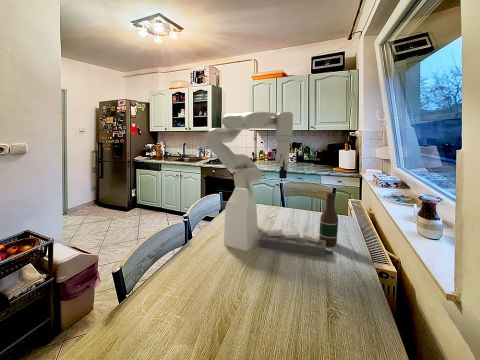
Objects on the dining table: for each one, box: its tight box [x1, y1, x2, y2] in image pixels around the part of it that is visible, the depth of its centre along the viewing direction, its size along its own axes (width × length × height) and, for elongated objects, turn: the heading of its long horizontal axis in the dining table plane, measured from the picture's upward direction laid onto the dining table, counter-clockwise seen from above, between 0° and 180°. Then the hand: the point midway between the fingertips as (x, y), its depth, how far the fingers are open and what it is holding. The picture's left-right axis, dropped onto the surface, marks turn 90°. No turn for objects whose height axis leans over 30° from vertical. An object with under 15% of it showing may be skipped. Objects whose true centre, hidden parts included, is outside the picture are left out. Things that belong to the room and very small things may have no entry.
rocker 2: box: [303, 232, 319, 243], centre depth 109 cm, size 6×3×2 cm, turn 72°
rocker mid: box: [284, 231, 301, 238], centre depth 112 cm, size 6×3×2 cm, turn 70°
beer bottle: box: [318, 192, 339, 248], centre depth 114 cm, size 8×8×24 cm
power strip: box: [258, 232, 334, 258], centre depth 110 cm, size 31×8×4 cm, turn 71°
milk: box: [223, 187, 259, 252], centre depth 115 cm, size 12×12×26 cm
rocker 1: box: [266, 229, 283, 236], centre depth 114 cm, size 6×3×2 cm, turn 69°
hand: (282, 178), depth 120 cm, fingers closed
